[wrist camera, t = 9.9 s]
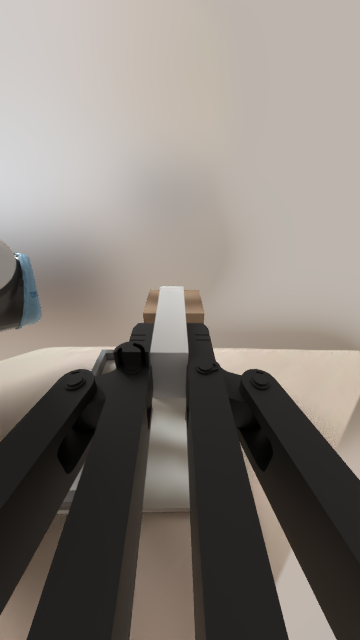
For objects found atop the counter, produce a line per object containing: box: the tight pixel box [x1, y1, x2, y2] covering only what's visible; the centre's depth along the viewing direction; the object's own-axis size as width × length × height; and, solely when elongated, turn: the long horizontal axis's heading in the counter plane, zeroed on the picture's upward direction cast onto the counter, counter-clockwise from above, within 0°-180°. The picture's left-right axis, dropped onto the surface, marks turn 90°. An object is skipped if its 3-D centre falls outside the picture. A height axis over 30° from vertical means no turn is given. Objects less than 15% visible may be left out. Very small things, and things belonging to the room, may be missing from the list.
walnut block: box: [143, 290, 204, 324], centre depth 35 cm, size 8×8×16 cm
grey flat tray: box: [57, 350, 190, 514], centre depth 33 cm, size 25×21×3 cm
